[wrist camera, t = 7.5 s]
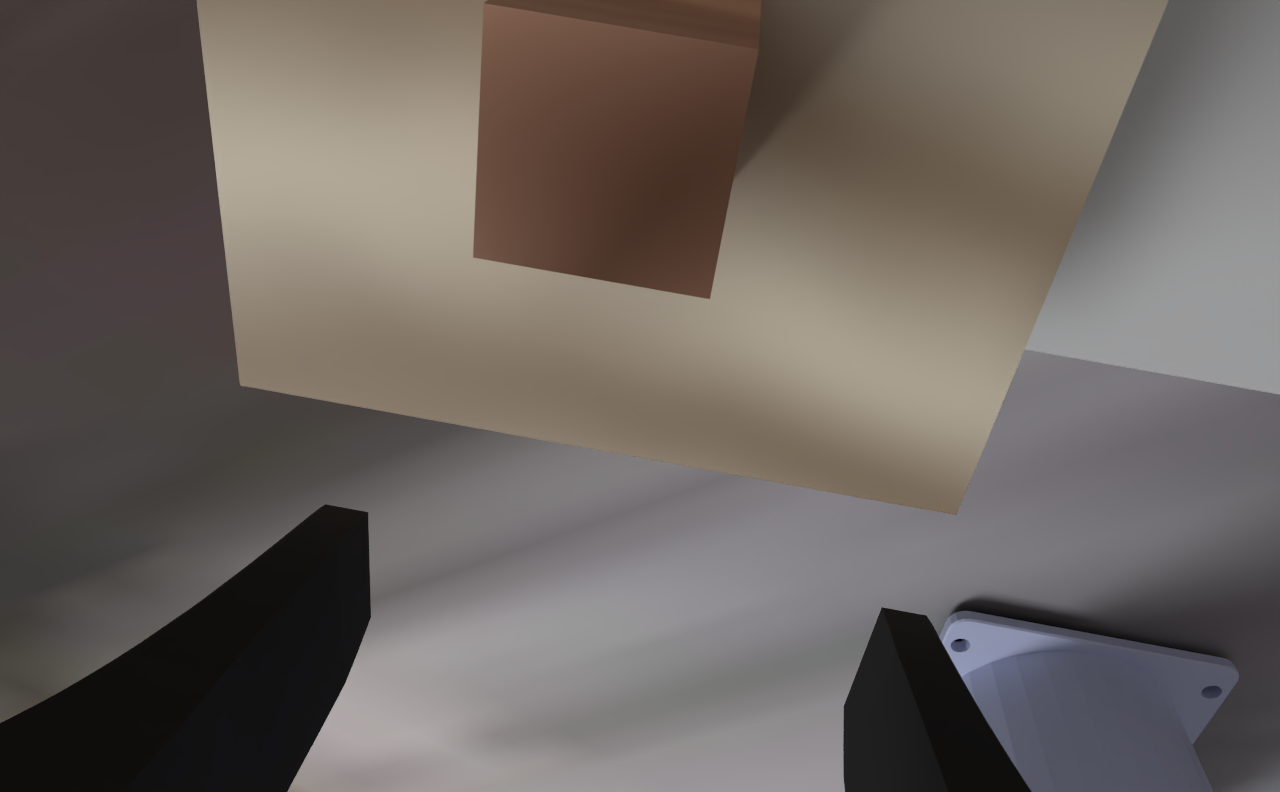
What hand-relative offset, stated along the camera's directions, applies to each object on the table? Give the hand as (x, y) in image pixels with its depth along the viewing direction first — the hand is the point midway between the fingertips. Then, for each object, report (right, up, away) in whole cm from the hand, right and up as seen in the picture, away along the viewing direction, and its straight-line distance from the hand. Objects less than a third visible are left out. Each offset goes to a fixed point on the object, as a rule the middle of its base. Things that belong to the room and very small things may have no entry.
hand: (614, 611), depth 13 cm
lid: (+1, +8, +2) cm, 8 cm away
